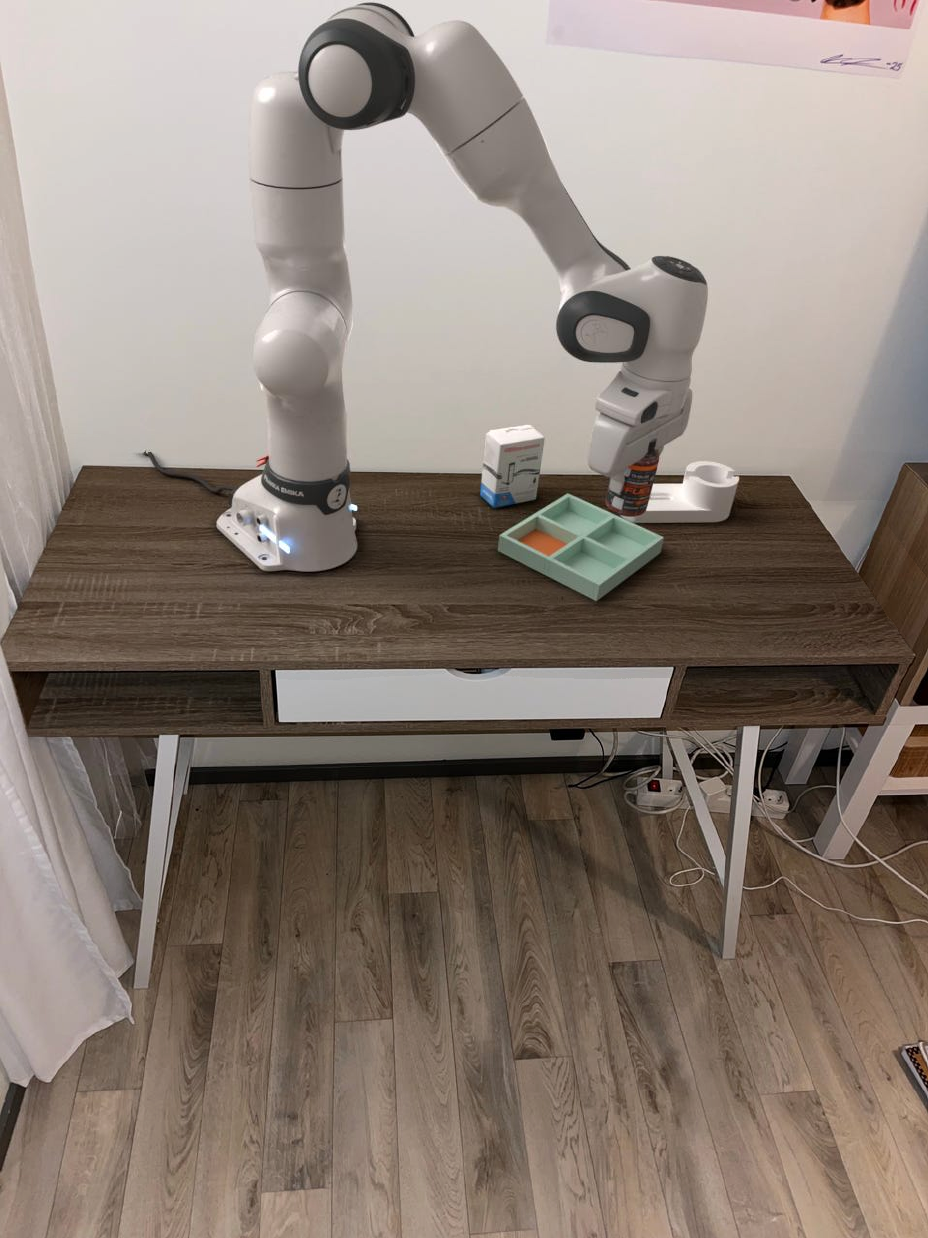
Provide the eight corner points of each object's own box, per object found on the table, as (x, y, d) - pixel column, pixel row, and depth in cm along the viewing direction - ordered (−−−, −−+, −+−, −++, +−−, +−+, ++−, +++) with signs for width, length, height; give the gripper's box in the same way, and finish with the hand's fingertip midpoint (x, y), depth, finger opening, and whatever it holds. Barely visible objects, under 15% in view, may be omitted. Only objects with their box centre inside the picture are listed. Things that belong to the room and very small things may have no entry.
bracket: (719, 495, 175) (728, 461, 171) (736, 521, 168) (746, 487, 164) (608, 495, 172) (614, 460, 168) (621, 523, 165) (628, 487, 161)
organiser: (497, 550, 156) (499, 534, 154) (565, 508, 168) (567, 493, 166) (596, 601, 147) (599, 585, 145) (660, 552, 159) (664, 537, 157)
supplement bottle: (619, 521, 138) (636, 448, 131) (596, 500, 142) (611, 427, 135) (655, 514, 141) (673, 441, 134) (630, 493, 145) (647, 421, 138)
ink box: (493, 509, 166) (500, 444, 158) (478, 494, 169) (485, 430, 162) (537, 499, 169) (546, 436, 162) (522, 485, 173) (530, 423, 165)
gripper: (671, 360, 139) (650, 449, 147) (588, 401, 125) (570, 497, 134) (712, 375, 136) (688, 466, 144) (631, 419, 123) (610, 516, 131)
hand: (630, 481), depth 139 cm, fingers closed on supplement bottle, 6 cm apart
